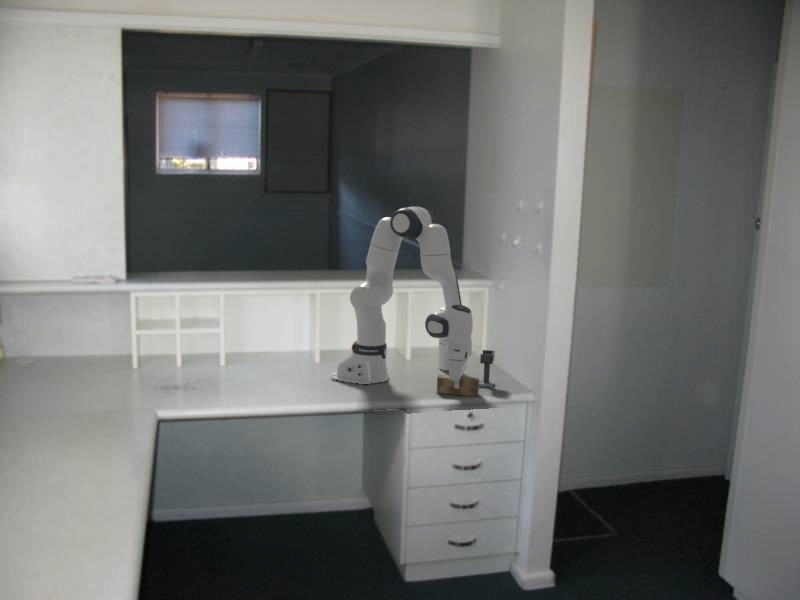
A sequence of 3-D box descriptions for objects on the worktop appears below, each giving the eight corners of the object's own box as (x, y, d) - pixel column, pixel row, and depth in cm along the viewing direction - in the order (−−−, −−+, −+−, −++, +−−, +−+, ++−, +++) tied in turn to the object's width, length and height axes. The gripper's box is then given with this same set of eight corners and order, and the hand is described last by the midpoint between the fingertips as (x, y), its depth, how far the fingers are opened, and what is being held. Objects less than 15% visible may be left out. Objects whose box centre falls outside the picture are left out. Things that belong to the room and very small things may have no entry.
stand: (445, 384, 307) (446, 351, 304) (448, 379, 313) (449, 347, 311) (492, 388, 303) (493, 355, 300) (494, 383, 309) (495, 350, 307)
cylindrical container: (454, 371, 326) (456, 310, 321) (436, 369, 327) (438, 309, 323) (456, 366, 333) (458, 307, 328) (439, 365, 334) (441, 306, 329)
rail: (436, 393, 295) (437, 377, 294) (438, 390, 298) (439, 374, 297) (477, 396, 292) (478, 380, 291) (478, 393, 295) (479, 378, 294)
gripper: (455, 342, 303) (454, 377, 305) (446, 355, 283) (444, 393, 286) (471, 343, 301) (470, 379, 304) (463, 357, 282) (462, 394, 284)
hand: (458, 386), depth 294 cm, fingers closed on rail, 4 cm apart
